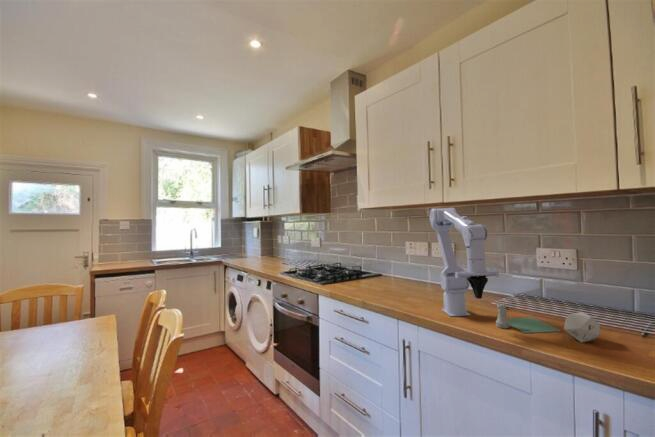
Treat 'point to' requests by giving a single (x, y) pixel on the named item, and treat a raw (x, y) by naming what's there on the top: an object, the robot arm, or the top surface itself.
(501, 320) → the rook chess piece
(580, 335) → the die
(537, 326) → the felt mat
